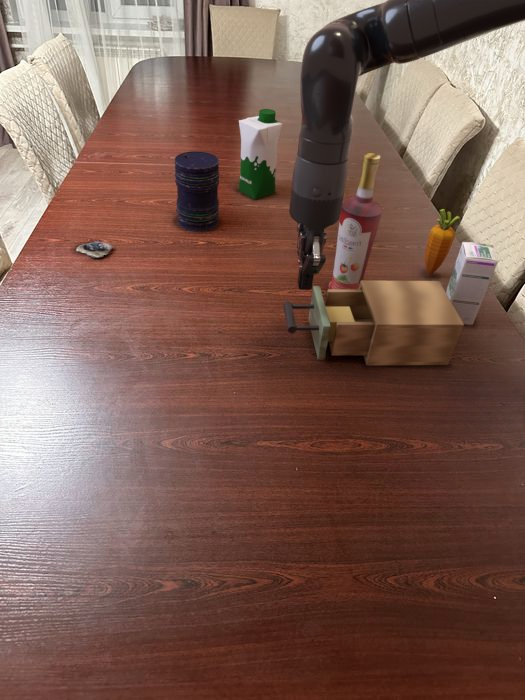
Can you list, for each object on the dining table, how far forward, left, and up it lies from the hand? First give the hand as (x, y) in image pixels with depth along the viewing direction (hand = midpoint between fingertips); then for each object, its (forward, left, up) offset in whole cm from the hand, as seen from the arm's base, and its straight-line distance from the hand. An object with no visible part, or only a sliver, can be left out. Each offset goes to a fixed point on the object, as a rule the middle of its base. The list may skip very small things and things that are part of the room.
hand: (304, 287), depth 85 cm
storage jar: (+18, -44, -12) cm, 49 cm away
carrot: (-32, -22, -12) cm, 40 cm away
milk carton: (+3, -61, -12) cm, 62 cm away
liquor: (-12, -15, -12) cm, 22 cm away
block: (-7, 0, -10) cm, 12 cm away
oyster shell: (+40, -30, -12) cm, 52 cm away
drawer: (-7, 0, -11) cm, 13 cm away
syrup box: (-33, -8, -12) cm, 36 cm away
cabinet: (-19, 0, -12) cm, 22 cm away
